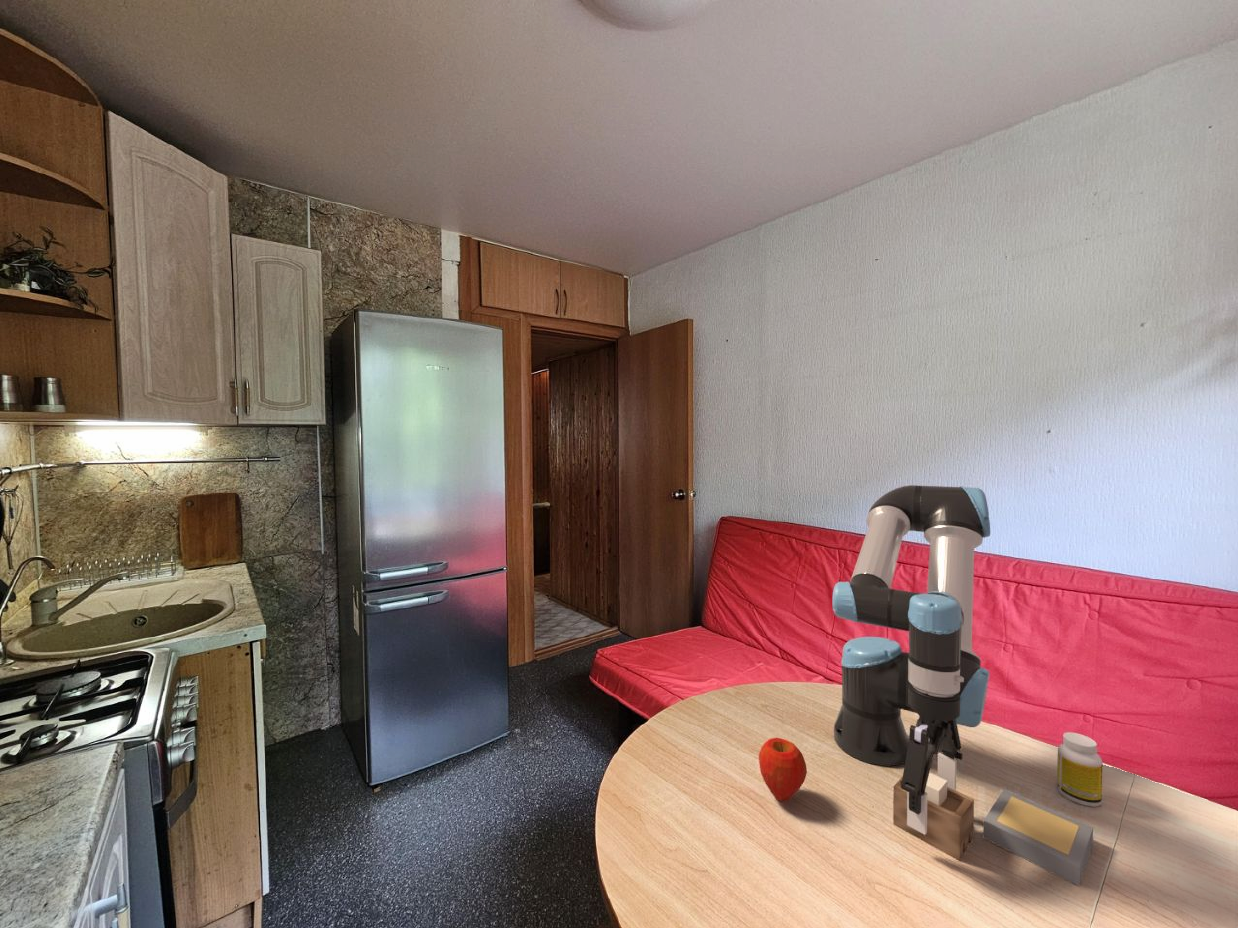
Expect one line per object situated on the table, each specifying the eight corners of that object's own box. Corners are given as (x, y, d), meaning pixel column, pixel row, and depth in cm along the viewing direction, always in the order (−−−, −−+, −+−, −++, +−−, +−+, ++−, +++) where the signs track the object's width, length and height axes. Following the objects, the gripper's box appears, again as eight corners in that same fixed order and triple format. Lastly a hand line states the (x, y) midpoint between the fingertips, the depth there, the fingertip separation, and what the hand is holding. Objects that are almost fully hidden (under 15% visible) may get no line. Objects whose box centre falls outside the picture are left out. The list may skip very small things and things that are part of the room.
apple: (813, 796, 94) (813, 741, 93) (794, 821, 87) (794, 762, 87) (771, 776, 99) (770, 724, 99) (750, 798, 93) (750, 743, 93)
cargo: (912, 795, 85) (912, 778, 85) (921, 785, 88) (921, 768, 88) (938, 808, 82) (938, 791, 82) (947, 797, 85) (947, 780, 85)
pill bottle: (1111, 810, 89) (1112, 750, 89) (1071, 805, 90) (1072, 747, 90) (1086, 786, 95) (1087, 731, 95) (1049, 782, 96) (1050, 728, 96)
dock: (983, 837, 83) (983, 819, 83) (1003, 804, 91) (1003, 788, 91) (1079, 886, 74) (1079, 866, 74) (1092, 844, 81) (1093, 826, 81)
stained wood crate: (893, 824, 86) (893, 786, 86) (909, 805, 91) (909, 769, 91) (959, 861, 79) (959, 819, 78) (973, 839, 83) (973, 798, 83)
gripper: (930, 721, 73) (929, 861, 73) (982, 674, 89) (981, 790, 89) (878, 702, 79) (877, 831, 79) (935, 661, 95) (934, 769, 95)
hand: (932, 809), depth 84 cm, fingers open, 13 cm apart
